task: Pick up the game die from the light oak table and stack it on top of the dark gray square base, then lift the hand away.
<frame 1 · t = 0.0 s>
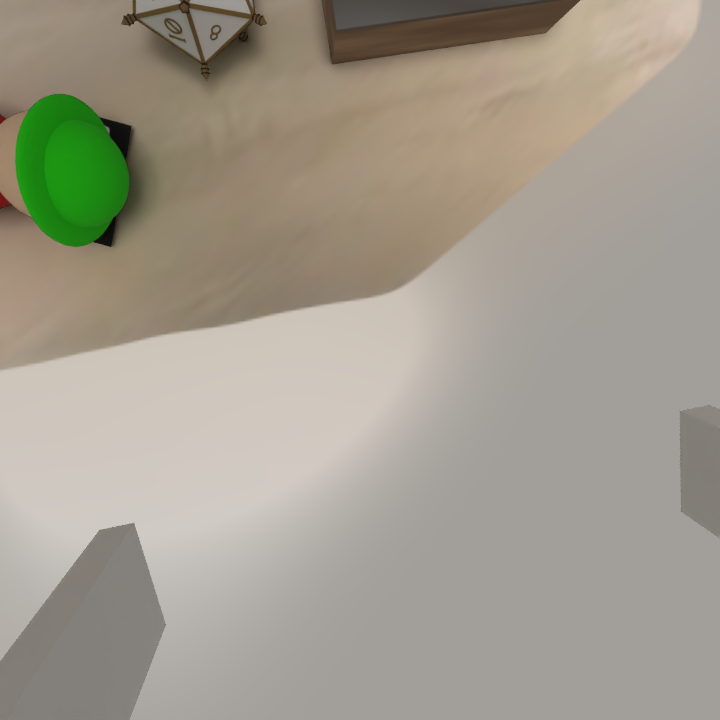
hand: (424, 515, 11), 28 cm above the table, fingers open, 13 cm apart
toy figure: (38, 171, 34), on the table
game die: (207, 18, 33), on the table
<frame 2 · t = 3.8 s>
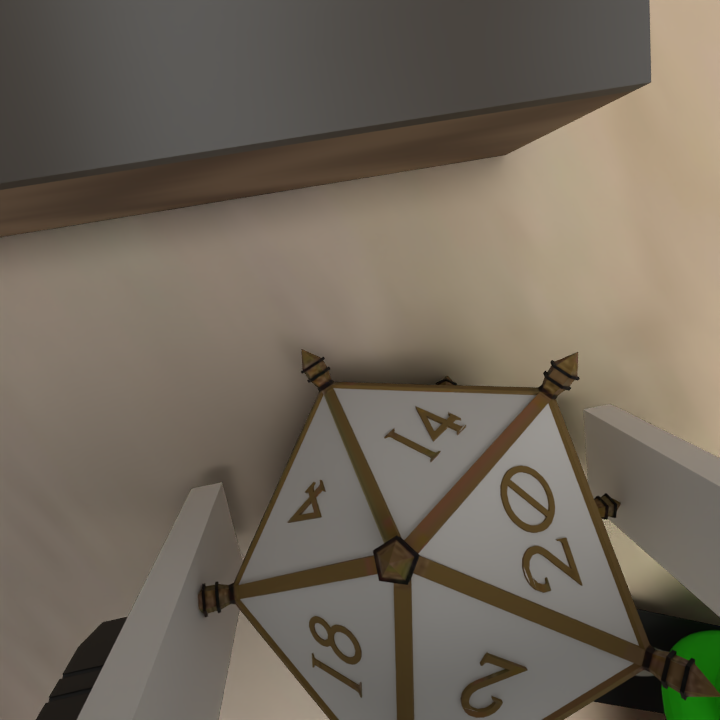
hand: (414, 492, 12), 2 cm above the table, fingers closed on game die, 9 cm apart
game die: (395, 463, 14), on the table, touching gripper
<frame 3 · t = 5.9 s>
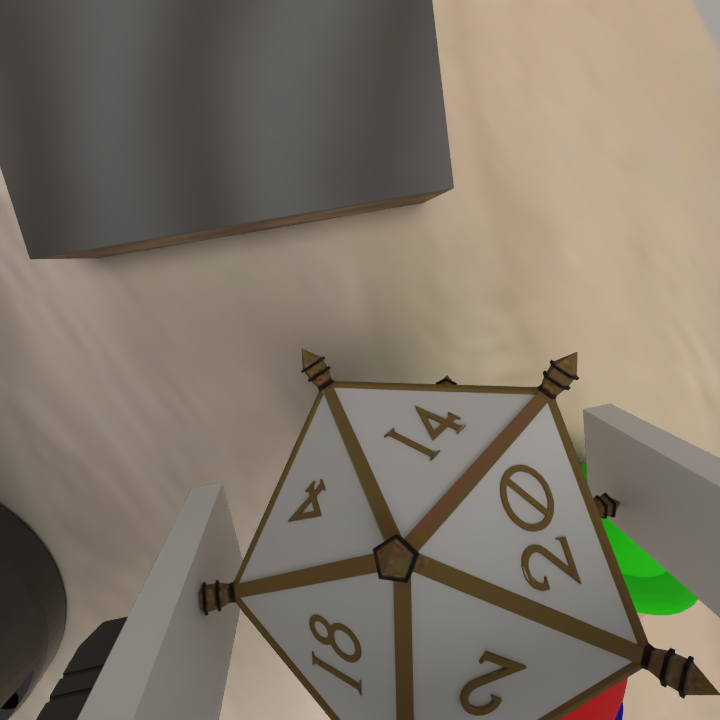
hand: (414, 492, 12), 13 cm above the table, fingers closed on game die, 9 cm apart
toy figure: (523, 551, 29), on the table
game die: (395, 463, 14), point 11 cm above the table, touching gripper
dark gray square base: (224, 47, 21), on the table
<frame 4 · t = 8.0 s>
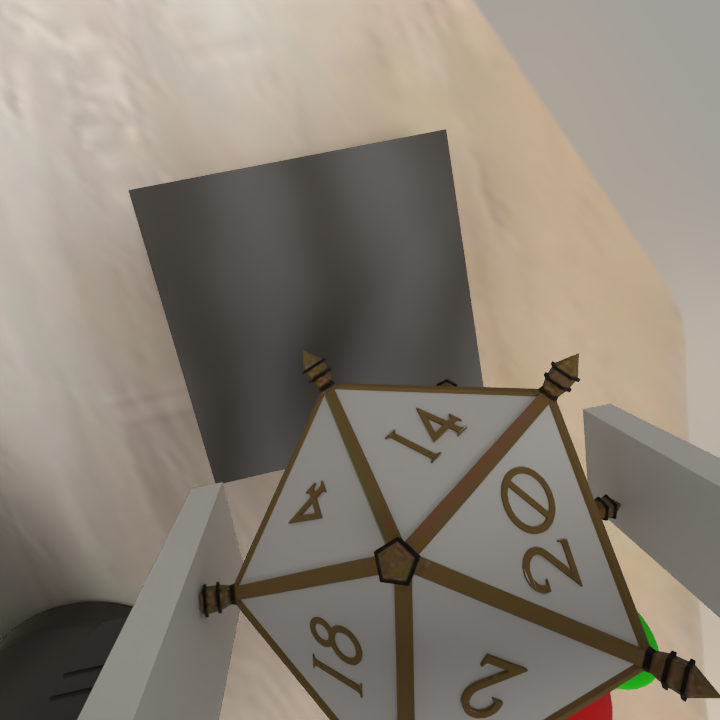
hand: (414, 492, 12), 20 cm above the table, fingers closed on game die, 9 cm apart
toy figure: (534, 623, 38), on the table
game die: (396, 464, 14), point 18 cm above the table, touching gripper
dark gray square base: (321, 306, 31), on the table
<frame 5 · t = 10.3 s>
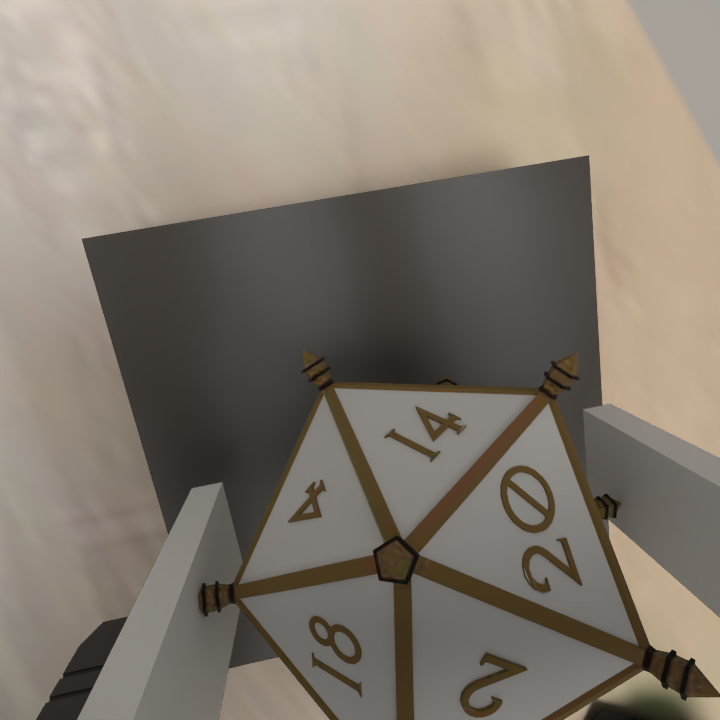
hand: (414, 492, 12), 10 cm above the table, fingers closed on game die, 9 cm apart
game die: (395, 463, 14), point 8 cm above the table, touching gripper
dark gray square base: (365, 391, 22), on the table
when the fingers open (8 cm above the table, at t = 12.2 s): game die stays where it is, resting on dark gray square base.
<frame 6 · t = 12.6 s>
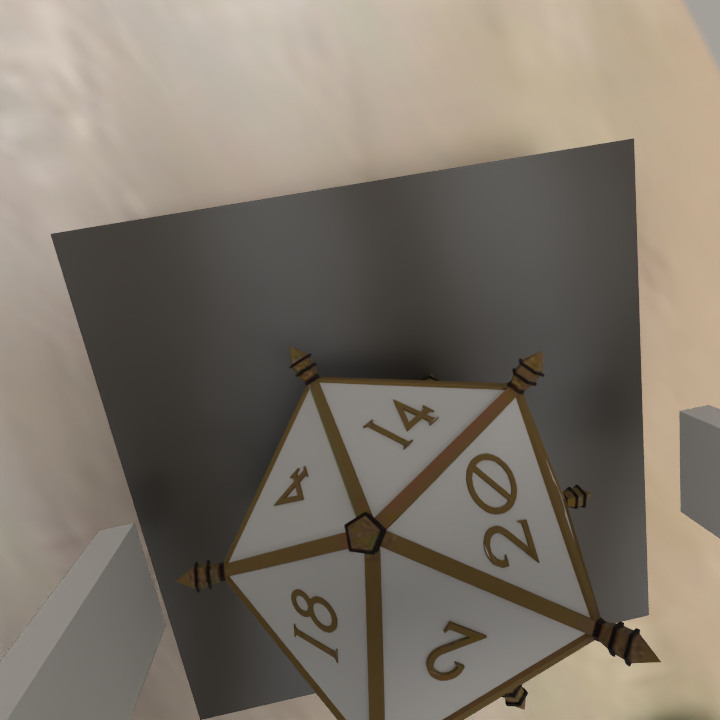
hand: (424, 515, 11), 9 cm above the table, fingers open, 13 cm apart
game die: (382, 456, 15), point 5 cm above the table, touching dark gray square base
dark gray square base: (374, 402, 20), on the table
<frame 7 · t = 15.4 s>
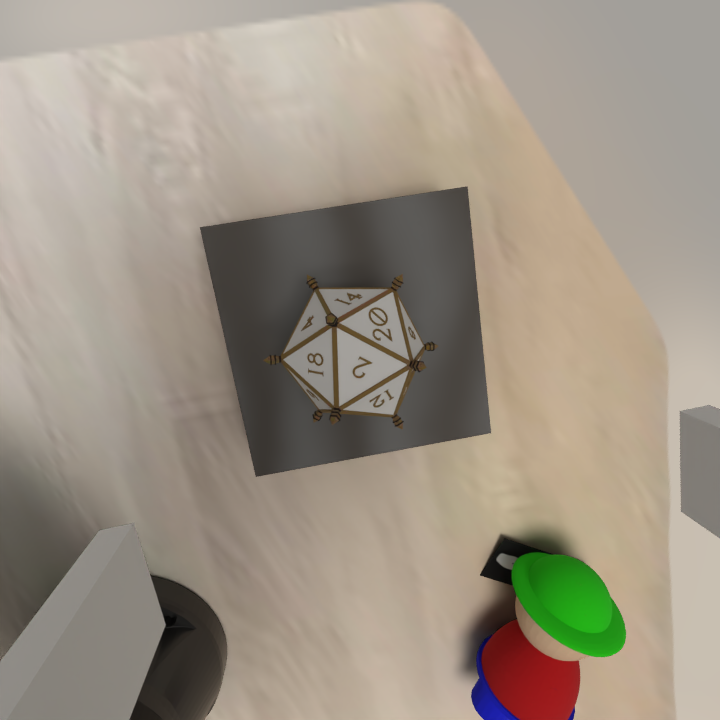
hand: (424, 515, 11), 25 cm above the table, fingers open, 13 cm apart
toy figure: (516, 603, 43), on the table
game die: (349, 339, 30), point 5 cm above the table, touching dark gray square base
dark gray square base: (350, 325, 35), on the table
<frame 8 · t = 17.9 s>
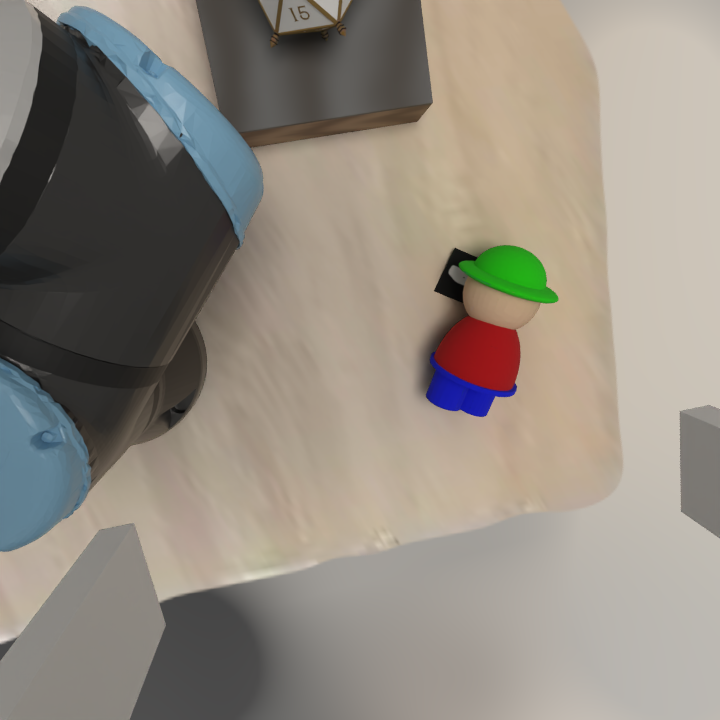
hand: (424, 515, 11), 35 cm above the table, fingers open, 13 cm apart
toy figure: (469, 324, 47), on the table
game die: (304, 1, 35), point 5 cm above the table, touching dark gray square base
dark gray square base: (310, 32, 40), on the table
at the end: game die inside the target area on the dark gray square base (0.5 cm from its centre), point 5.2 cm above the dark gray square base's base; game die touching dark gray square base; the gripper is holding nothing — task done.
